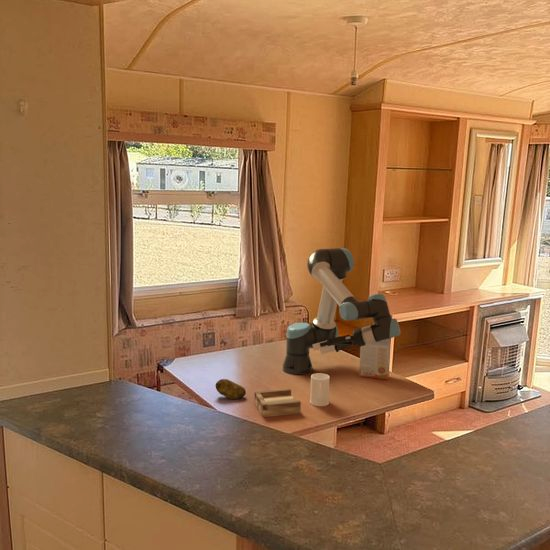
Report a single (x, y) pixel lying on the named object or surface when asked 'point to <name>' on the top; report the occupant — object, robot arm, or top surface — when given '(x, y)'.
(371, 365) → the cracker box
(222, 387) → the potato
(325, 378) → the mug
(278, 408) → the display stand
